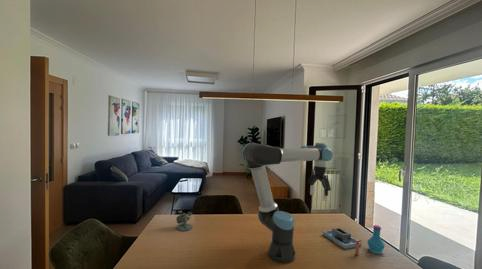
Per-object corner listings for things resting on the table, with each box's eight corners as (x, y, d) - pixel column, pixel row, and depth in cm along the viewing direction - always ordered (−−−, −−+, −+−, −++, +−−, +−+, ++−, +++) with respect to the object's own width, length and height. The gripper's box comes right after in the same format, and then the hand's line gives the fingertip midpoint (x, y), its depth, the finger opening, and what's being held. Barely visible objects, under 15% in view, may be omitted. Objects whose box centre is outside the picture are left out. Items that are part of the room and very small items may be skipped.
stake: (356, 255, 140) (357, 241, 140) (353, 254, 142) (354, 239, 142) (361, 254, 142) (362, 240, 141) (358, 253, 143) (359, 238, 143)
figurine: (186, 232, 160) (187, 214, 160) (172, 229, 164) (173, 211, 164) (195, 226, 170) (195, 209, 169) (182, 223, 174) (182, 207, 173)
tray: (344, 249, 147) (344, 245, 147) (322, 234, 166) (323, 231, 166) (360, 246, 152) (361, 242, 152) (337, 232, 171) (338, 229, 170)
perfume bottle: (384, 256, 141) (385, 231, 140) (366, 251, 146) (367, 226, 145) (384, 249, 149) (386, 225, 148) (367, 245, 154) (369, 222, 153)
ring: (350, 242, 155) (350, 234, 155) (341, 243, 153) (341, 235, 152) (339, 235, 165) (339, 227, 164) (330, 236, 162) (330, 228, 162)
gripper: (338, 169, 151) (335, 202, 151) (313, 162, 174) (311, 192, 175) (328, 169, 148) (326, 203, 149) (304, 163, 171) (302, 192, 172)
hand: (318, 197), depth 162 cm, fingers open, 13 cm apart
